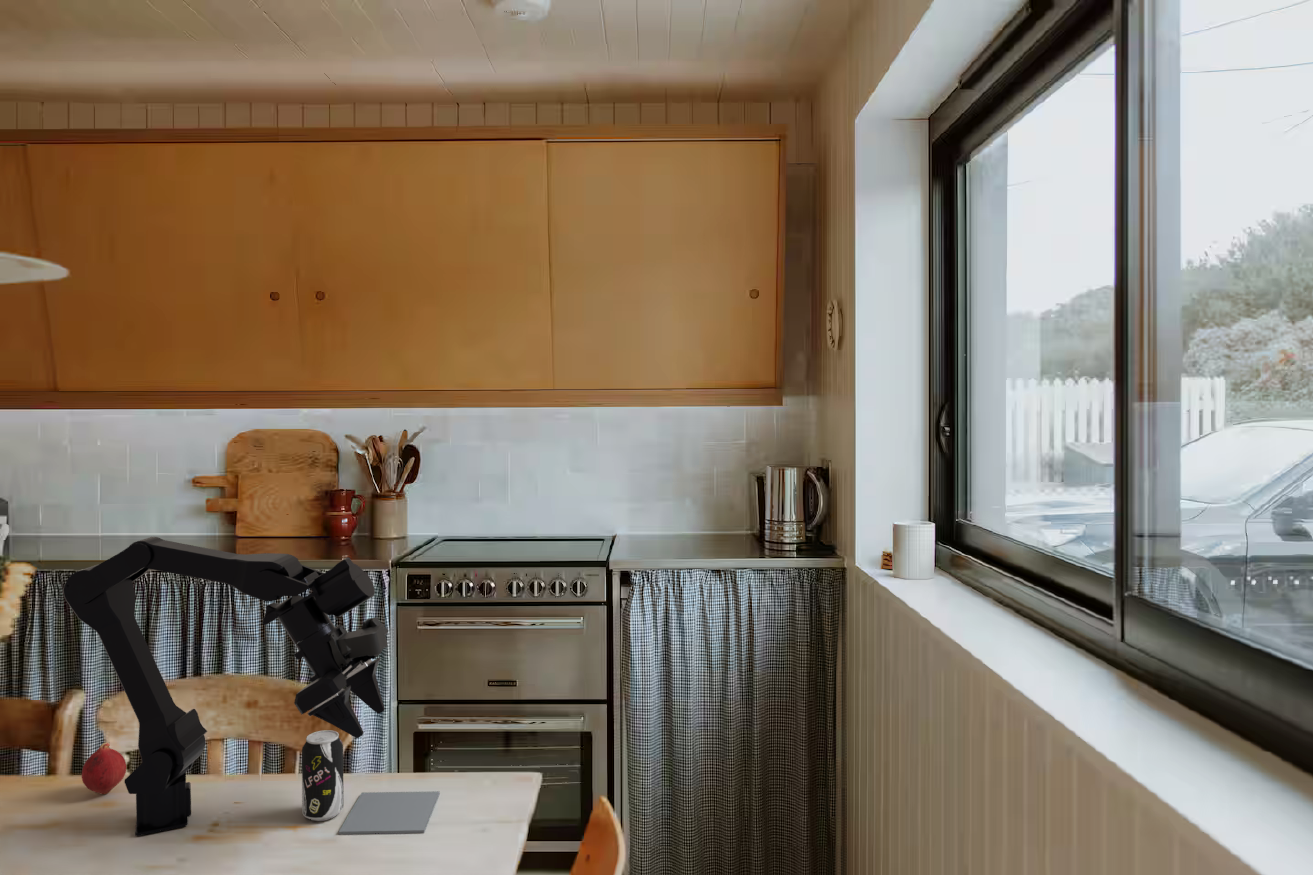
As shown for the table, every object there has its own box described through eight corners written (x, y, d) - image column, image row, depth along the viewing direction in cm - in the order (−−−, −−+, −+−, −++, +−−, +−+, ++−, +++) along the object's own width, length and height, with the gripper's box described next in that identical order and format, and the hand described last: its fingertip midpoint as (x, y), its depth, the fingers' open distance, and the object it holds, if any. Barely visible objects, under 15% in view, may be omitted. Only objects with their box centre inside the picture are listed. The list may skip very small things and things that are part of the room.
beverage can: (296, 824, 126) (295, 743, 126) (310, 805, 132) (309, 728, 131) (336, 823, 127) (335, 743, 126) (348, 805, 132) (348, 727, 132)
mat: (338, 834, 124) (338, 831, 124) (361, 794, 136) (361, 792, 136) (424, 832, 124) (424, 830, 124) (439, 793, 136) (439, 791, 136)
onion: (105, 804, 131) (103, 752, 131) (72, 800, 132) (71, 749, 132) (135, 787, 137) (134, 737, 136) (104, 783, 138) (103, 734, 138)
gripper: (336, 621, 116) (398, 719, 116) (381, 589, 134) (435, 674, 135) (266, 664, 116) (329, 761, 117) (321, 626, 135) (374, 711, 135)
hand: (371, 723), depth 126 cm, fingers open, 9 cm apart
